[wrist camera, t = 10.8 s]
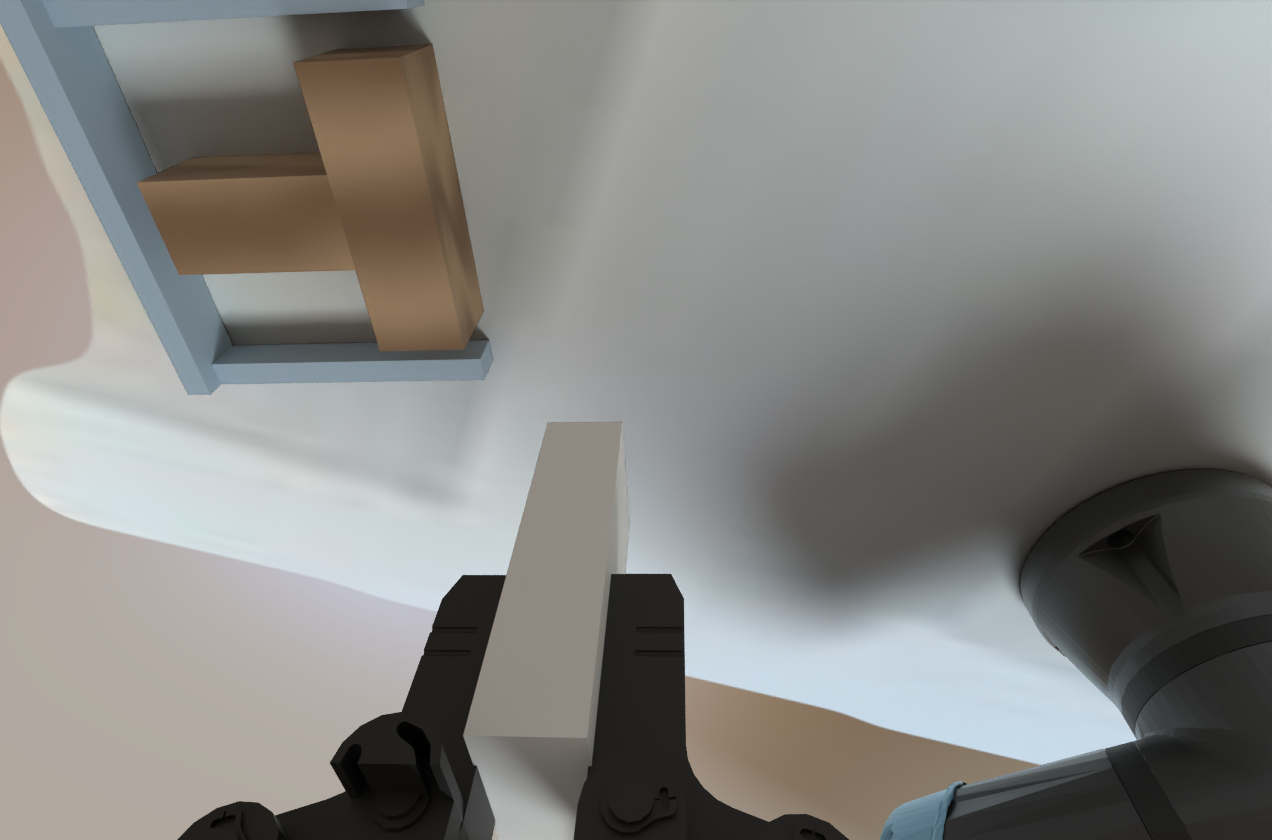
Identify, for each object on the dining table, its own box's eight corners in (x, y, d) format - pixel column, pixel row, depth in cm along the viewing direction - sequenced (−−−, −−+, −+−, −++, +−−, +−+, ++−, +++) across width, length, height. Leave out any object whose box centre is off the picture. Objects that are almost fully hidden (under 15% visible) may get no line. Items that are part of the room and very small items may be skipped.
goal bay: (493, 360, 36) (479, 390, 34) (220, 365, 37) (187, 394, 35) (417, -32, 26) (390, -30, 24) (47, -10, 27) (-15, -6, 25)
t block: (483, 311, 35) (464, 349, 31) (258, 316, 35) (215, 354, 32) (432, 44, 28) (400, 57, 24) (153, 58, 28) (86, 72, 25)
